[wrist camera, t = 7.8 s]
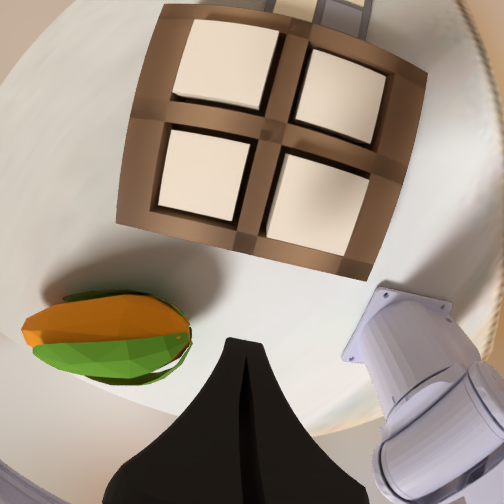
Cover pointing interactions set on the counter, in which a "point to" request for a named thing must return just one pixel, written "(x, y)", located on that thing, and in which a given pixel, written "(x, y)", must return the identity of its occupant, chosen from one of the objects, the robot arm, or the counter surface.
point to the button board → (267, 139)
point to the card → (327, 13)
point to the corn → (111, 336)
